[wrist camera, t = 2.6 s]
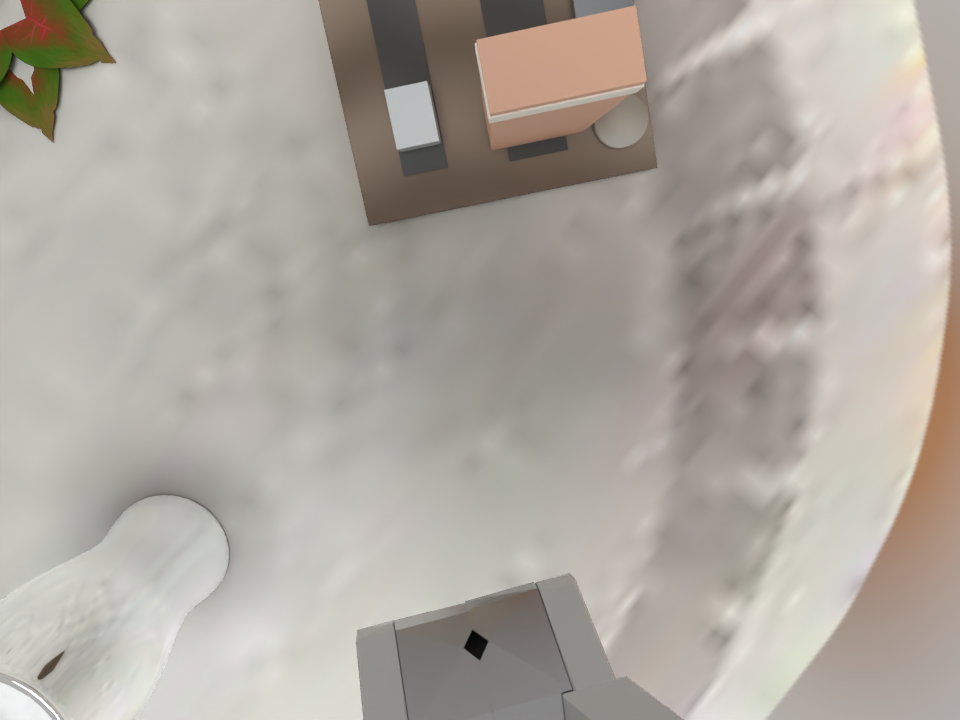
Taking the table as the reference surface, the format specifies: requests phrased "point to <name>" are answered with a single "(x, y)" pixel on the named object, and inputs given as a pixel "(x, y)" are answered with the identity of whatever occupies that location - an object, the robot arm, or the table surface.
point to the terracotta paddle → (558, 76)
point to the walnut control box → (458, 108)
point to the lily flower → (45, 57)
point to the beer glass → (108, 615)
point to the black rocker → (597, 6)
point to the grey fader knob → (413, 116)
